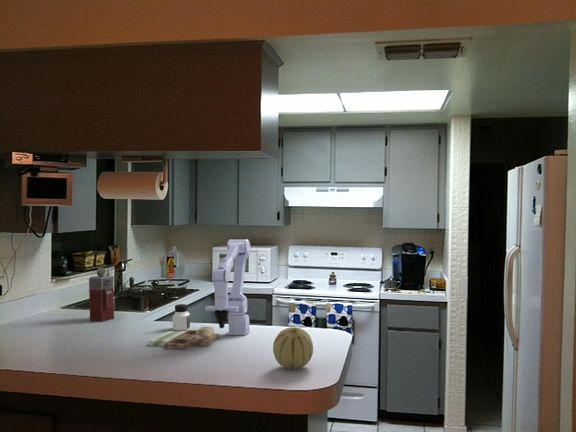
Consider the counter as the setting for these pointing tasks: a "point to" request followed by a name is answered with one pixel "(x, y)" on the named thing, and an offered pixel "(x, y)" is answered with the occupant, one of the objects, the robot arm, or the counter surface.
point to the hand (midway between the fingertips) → (222, 327)
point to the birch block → (204, 332)
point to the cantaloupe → (293, 348)
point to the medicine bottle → (181, 317)
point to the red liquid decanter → (101, 297)
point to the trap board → (181, 340)
